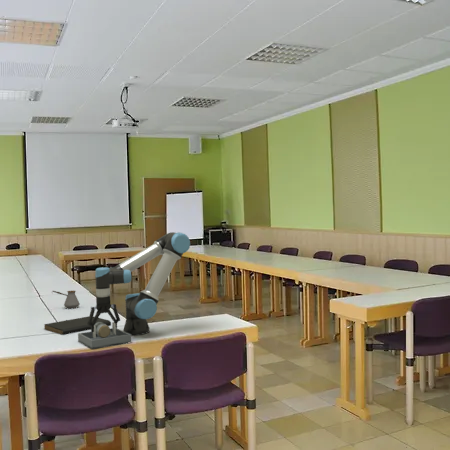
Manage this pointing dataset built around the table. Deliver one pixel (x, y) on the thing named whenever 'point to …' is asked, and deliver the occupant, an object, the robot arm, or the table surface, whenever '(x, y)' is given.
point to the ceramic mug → (102, 330)
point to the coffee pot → (70, 299)
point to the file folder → (72, 325)
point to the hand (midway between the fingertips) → (104, 336)
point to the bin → (104, 339)
